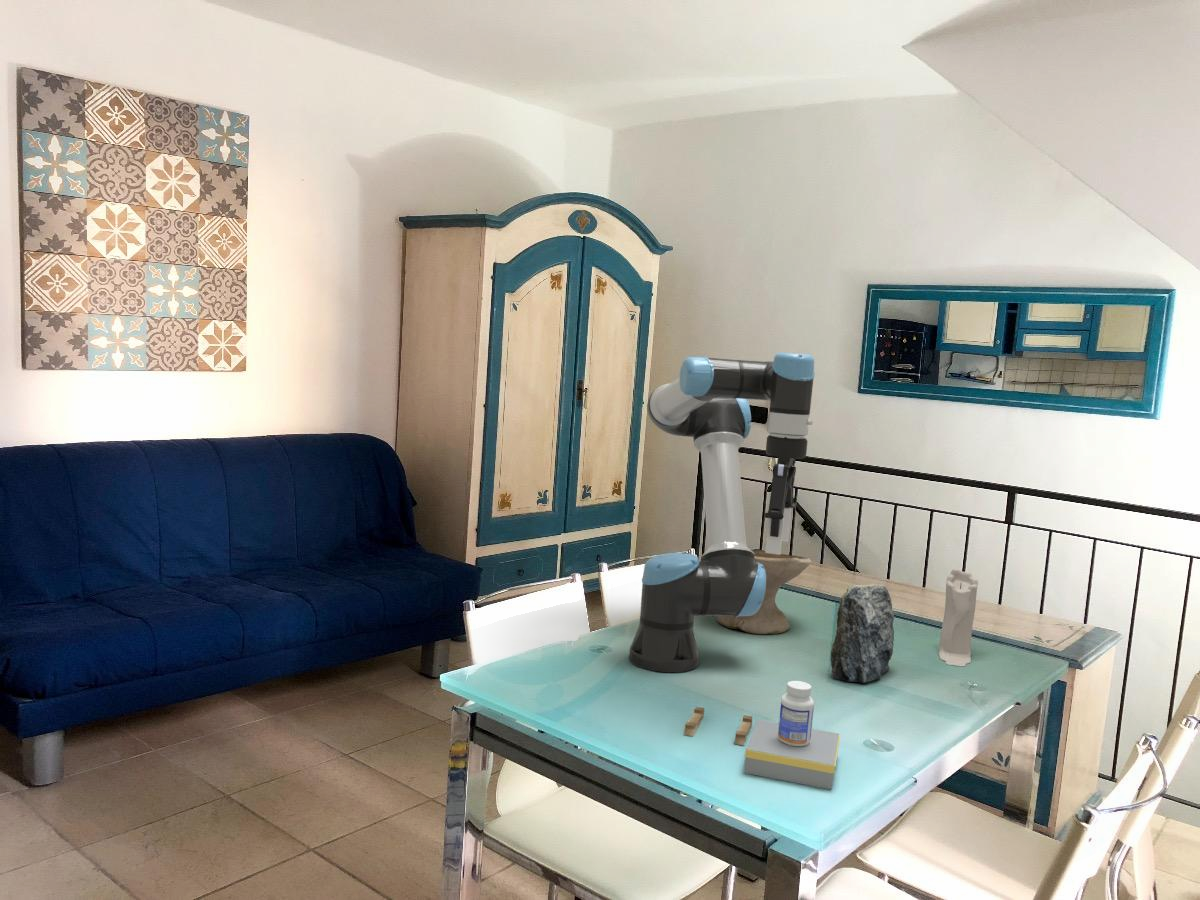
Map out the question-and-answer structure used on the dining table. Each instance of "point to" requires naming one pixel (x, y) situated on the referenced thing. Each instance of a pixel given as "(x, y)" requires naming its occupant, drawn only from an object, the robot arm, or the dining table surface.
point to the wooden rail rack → (698, 716)
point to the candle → (958, 618)
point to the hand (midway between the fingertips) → (777, 547)
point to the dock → (792, 756)
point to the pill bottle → (796, 714)
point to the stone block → (863, 634)
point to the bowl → (769, 595)
